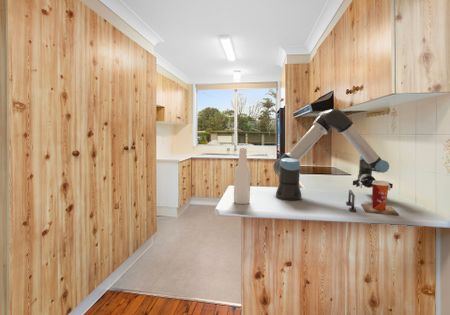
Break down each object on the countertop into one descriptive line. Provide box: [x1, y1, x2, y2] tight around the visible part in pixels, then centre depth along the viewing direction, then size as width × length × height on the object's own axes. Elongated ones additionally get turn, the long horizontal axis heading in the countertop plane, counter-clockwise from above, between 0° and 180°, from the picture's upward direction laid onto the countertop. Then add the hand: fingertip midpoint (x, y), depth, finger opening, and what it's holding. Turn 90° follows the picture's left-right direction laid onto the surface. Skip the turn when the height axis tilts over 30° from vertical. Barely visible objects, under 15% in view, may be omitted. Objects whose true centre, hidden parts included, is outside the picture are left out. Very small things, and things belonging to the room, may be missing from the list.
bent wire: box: [345, 189, 357, 213], centre depth 133 cm, size 3×16×8 cm, turn 160°
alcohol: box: [233, 147, 251, 205], centre depth 138 cm, size 9×9×30 cm
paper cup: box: [371, 179, 390, 210], centre depth 128 cm, size 8×8×14 cm
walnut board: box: [360, 203, 400, 216], centre depth 129 cm, size 14×13×1 cm
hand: (375, 186), depth 138 cm, fingers open, 13 cm apart
